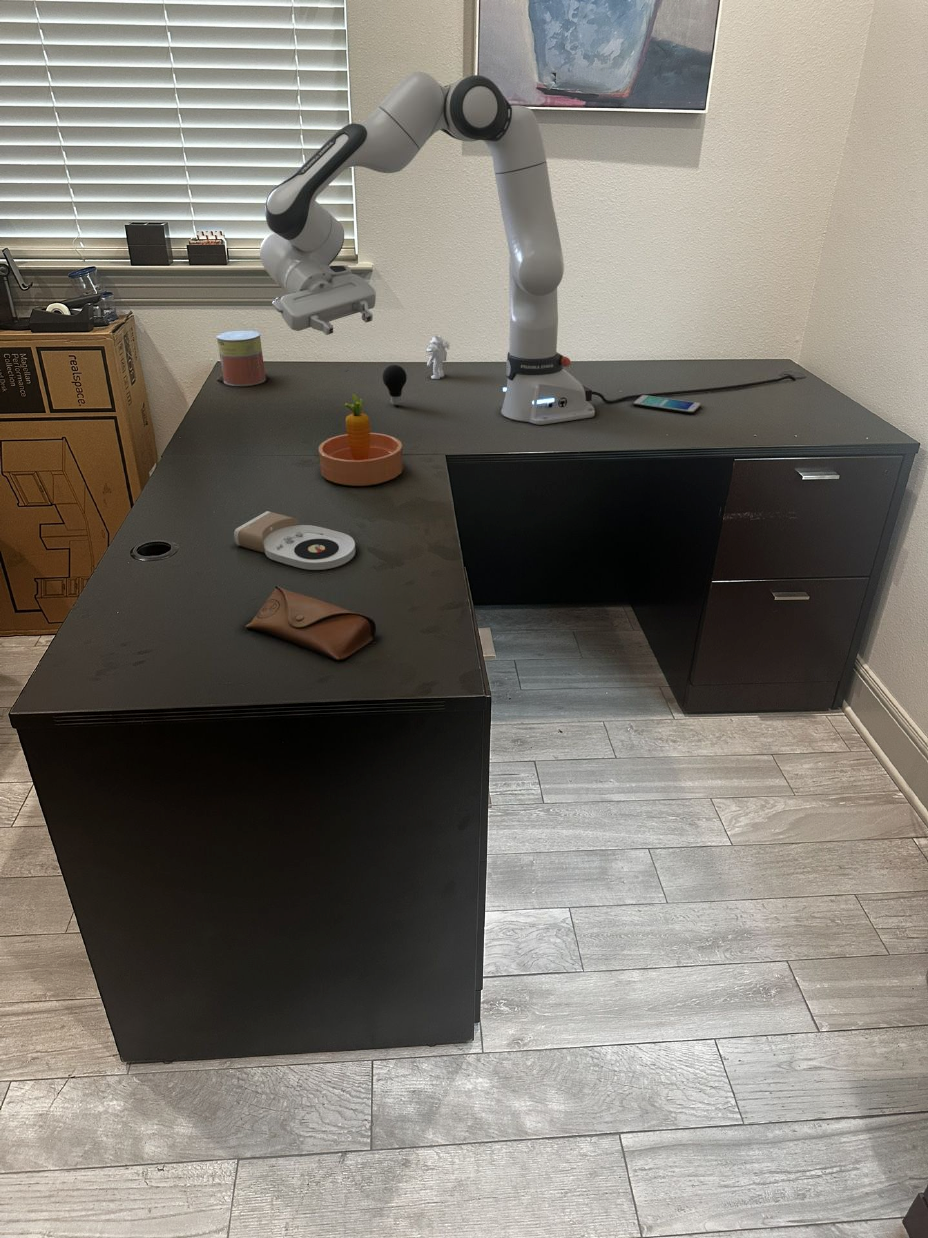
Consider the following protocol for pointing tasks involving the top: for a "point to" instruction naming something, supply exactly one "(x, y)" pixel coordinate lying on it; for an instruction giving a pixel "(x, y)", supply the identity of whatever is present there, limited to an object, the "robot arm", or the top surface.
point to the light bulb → (395, 382)
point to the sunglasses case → (313, 624)
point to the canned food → (241, 357)
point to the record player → (295, 542)
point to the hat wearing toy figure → (437, 355)
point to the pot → (361, 461)
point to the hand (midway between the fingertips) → (350, 324)
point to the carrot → (358, 430)
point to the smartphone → (667, 404)
